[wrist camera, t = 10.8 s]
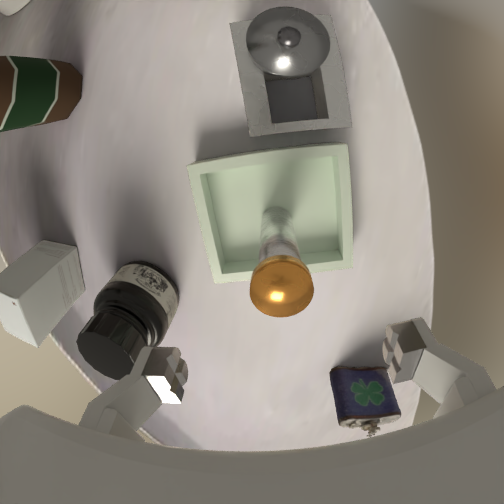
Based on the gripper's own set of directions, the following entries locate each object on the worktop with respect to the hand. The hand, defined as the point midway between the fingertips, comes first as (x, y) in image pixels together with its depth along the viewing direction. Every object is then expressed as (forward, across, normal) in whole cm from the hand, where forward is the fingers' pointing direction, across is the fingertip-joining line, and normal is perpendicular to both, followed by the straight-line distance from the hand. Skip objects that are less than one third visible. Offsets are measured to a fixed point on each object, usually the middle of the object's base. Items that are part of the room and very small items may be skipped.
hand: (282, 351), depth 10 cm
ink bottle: (+19, +17, +9) cm, 27 cm away
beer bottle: (+20, +22, -18) cm, 35 cm away
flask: (+19, -10, +28) cm, 35 cm away
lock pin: (+18, 0, +2) cm, 18 cm away
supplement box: (+19, +30, +4) cm, 36 cm away
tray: (+19, 0, +1) cm, 19 cm away
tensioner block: (+19, -3, -12) cm, 23 cm away
